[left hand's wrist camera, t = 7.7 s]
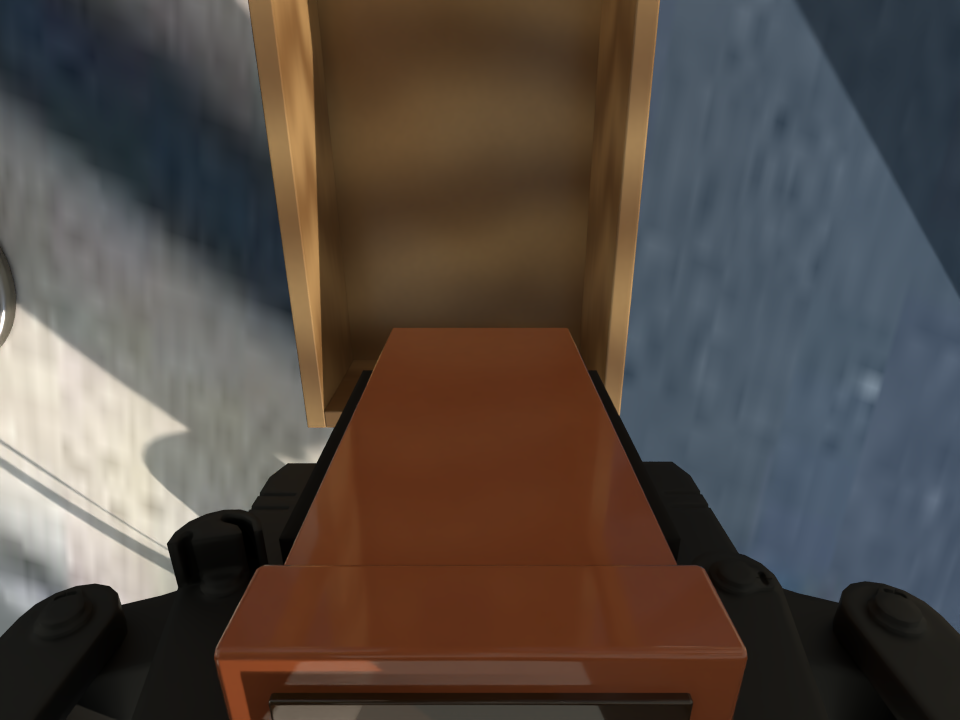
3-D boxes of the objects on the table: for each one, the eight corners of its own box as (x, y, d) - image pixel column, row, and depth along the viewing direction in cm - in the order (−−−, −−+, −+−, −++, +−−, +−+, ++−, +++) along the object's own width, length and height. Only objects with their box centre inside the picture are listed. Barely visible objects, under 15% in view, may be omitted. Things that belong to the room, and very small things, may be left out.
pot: (565, 482, 16) (682, 954, 7) (395, 482, 16) (278, 954, 7) (576, 319, 14) (758, 663, 5) (384, 319, 14) (203, 663, 5)
